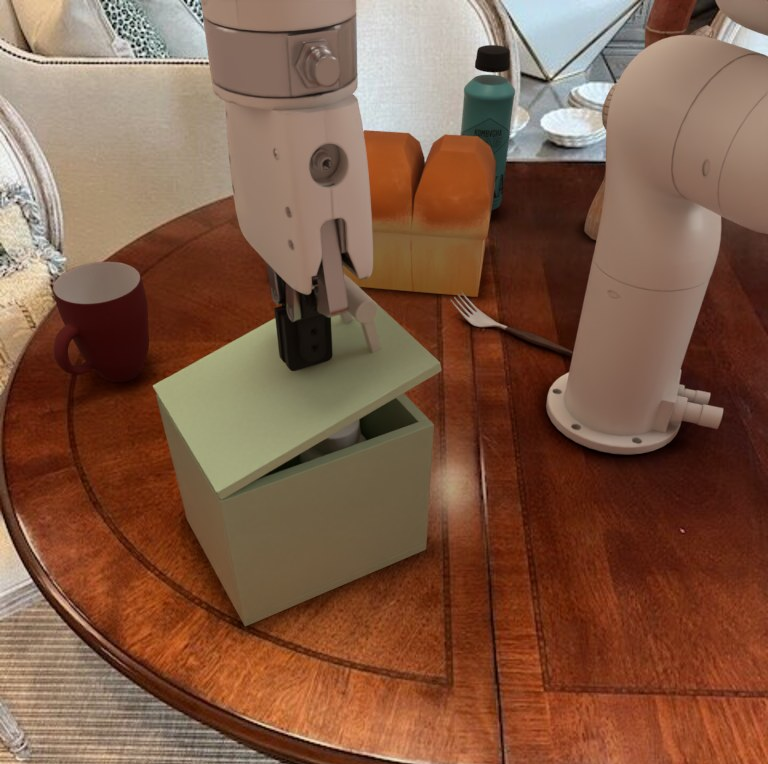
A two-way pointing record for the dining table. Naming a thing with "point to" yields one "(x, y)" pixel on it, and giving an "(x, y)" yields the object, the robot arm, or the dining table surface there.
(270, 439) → the lid
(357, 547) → the caddy
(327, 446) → the pill bottle
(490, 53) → the beverage bottle
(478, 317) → the fork
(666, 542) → the dining table surface
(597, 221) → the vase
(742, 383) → the dining table surface
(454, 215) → the bread
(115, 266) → the mug
